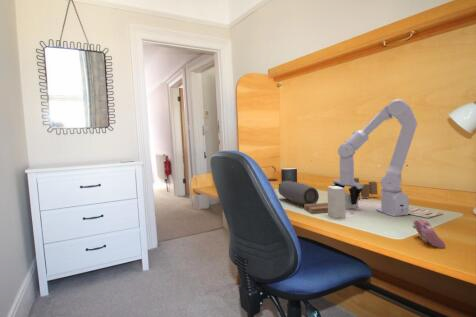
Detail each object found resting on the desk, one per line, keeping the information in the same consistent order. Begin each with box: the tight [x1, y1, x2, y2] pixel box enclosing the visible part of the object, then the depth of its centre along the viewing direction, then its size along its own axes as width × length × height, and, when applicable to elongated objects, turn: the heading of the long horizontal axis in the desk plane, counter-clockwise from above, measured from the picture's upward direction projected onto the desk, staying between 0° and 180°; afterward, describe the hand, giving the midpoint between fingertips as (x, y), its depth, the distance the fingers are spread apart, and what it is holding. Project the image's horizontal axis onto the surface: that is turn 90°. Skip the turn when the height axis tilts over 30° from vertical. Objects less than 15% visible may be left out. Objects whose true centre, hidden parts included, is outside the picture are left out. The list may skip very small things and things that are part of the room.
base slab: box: [303, 202, 328, 215], centre depth 113 cm, size 8×14×2 cm, turn 99°
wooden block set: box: [350, 177, 378, 200], centre depth 134 cm, size 18×9×10 cm, turn 84°
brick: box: [345, 192, 359, 210], centre depth 117 cm, size 4×8×6 cm, turn 99°
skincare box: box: [327, 185, 346, 220], centre depth 104 cm, size 6×4×12 cm
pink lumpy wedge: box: [412, 219, 446, 249], centre depth 76 cm, size 10×5×7 cm, turn 163°
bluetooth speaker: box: [277, 180, 320, 206], centre depth 129 cm, size 23×9×10 cm, turn 20°
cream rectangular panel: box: [345, 211, 356, 215], centre depth 108 cm, size 6×8×1 cm
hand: (346, 202), depth 117 cm, fingers open, 7 cm apart
